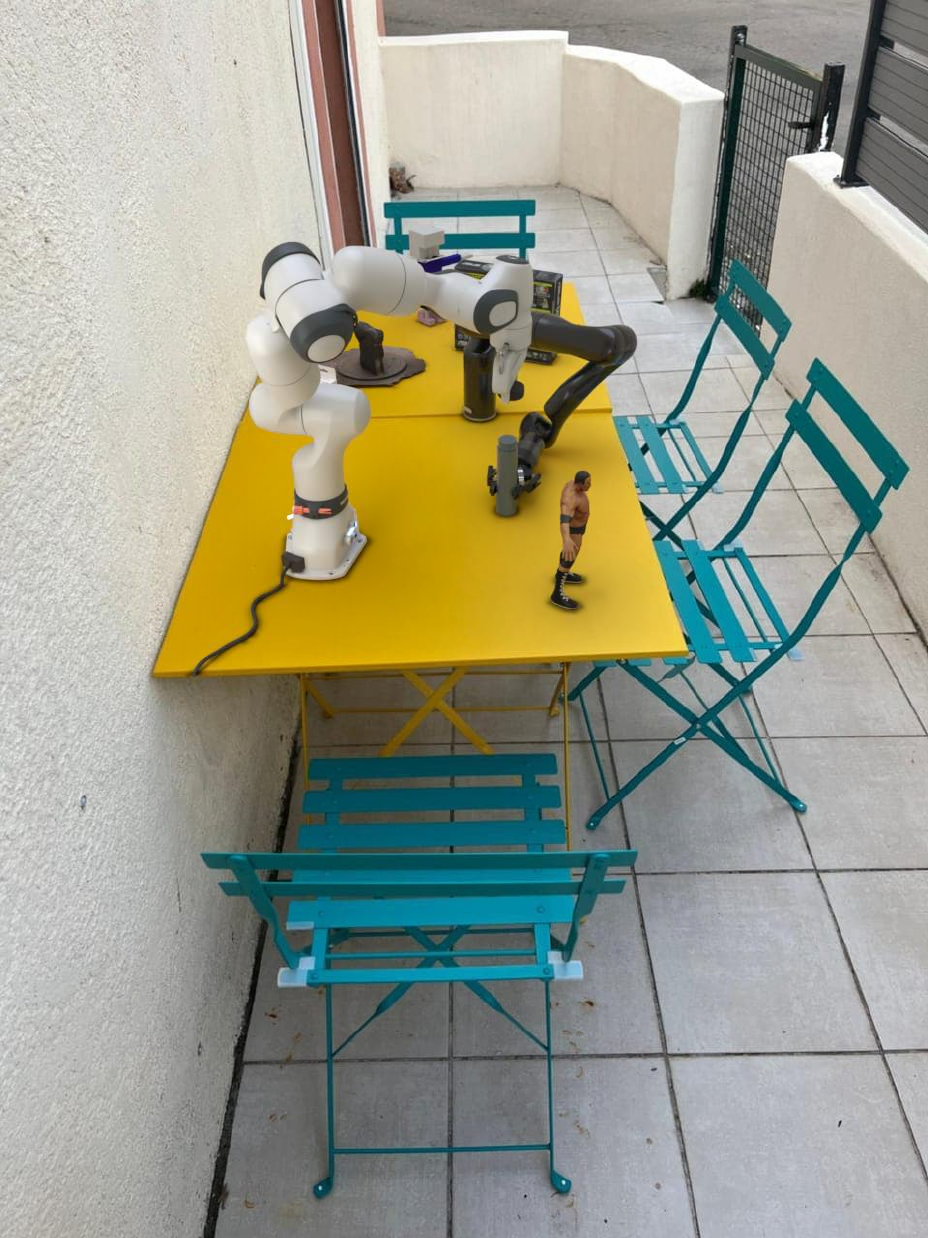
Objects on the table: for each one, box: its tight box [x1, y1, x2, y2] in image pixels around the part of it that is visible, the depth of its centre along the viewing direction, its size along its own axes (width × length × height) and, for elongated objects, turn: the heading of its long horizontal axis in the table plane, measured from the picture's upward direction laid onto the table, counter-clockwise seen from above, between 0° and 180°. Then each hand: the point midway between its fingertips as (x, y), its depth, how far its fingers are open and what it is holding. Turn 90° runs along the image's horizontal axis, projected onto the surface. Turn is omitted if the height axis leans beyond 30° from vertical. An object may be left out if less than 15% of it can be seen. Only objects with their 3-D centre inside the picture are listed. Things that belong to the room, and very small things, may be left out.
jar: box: [495, 434, 518, 517], centre depth 210 cm, size 5×5×20 cm
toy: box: [408, 223, 474, 327], centre depth 298 cm, size 35×10×30 cm, turn 130°
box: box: [453, 259, 564, 365], centre depth 278 cm, size 34×7×27 cm, turn 68°
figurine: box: [550, 470, 592, 610], centre depth 182 cm, size 24×6×30 cm, turn 168°
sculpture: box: [317, 320, 426, 387], centre depth 273 cm, size 33×35×16 cm
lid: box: [497, 380, 525, 402], centre depth 196 cm, size 6×6×2 cm
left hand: (509, 395), depth 197 cm, fingers closed on lid, 5 cm apart
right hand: (503, 494), depth 210 cm, fingers closed on jar, 5 cm apart
